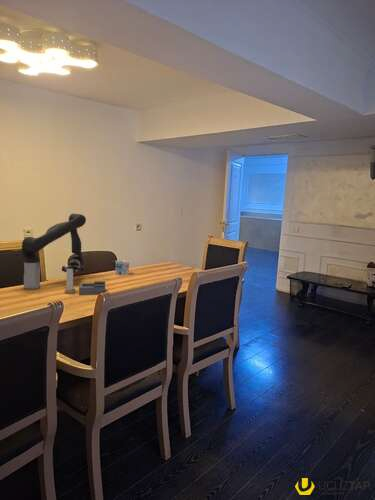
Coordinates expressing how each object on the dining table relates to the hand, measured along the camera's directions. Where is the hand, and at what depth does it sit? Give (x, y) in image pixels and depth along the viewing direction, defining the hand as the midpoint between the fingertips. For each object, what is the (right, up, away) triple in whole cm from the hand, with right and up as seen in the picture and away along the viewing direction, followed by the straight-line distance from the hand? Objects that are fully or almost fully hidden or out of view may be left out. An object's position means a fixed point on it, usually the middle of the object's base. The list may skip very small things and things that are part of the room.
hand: (72, 270), depth 230 cm
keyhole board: (+15, -13, -6) cm, 21 cm away
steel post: (+2, -13, -9) cm, 16 cm away
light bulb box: (+24, -6, +50) cm, 56 cm away
